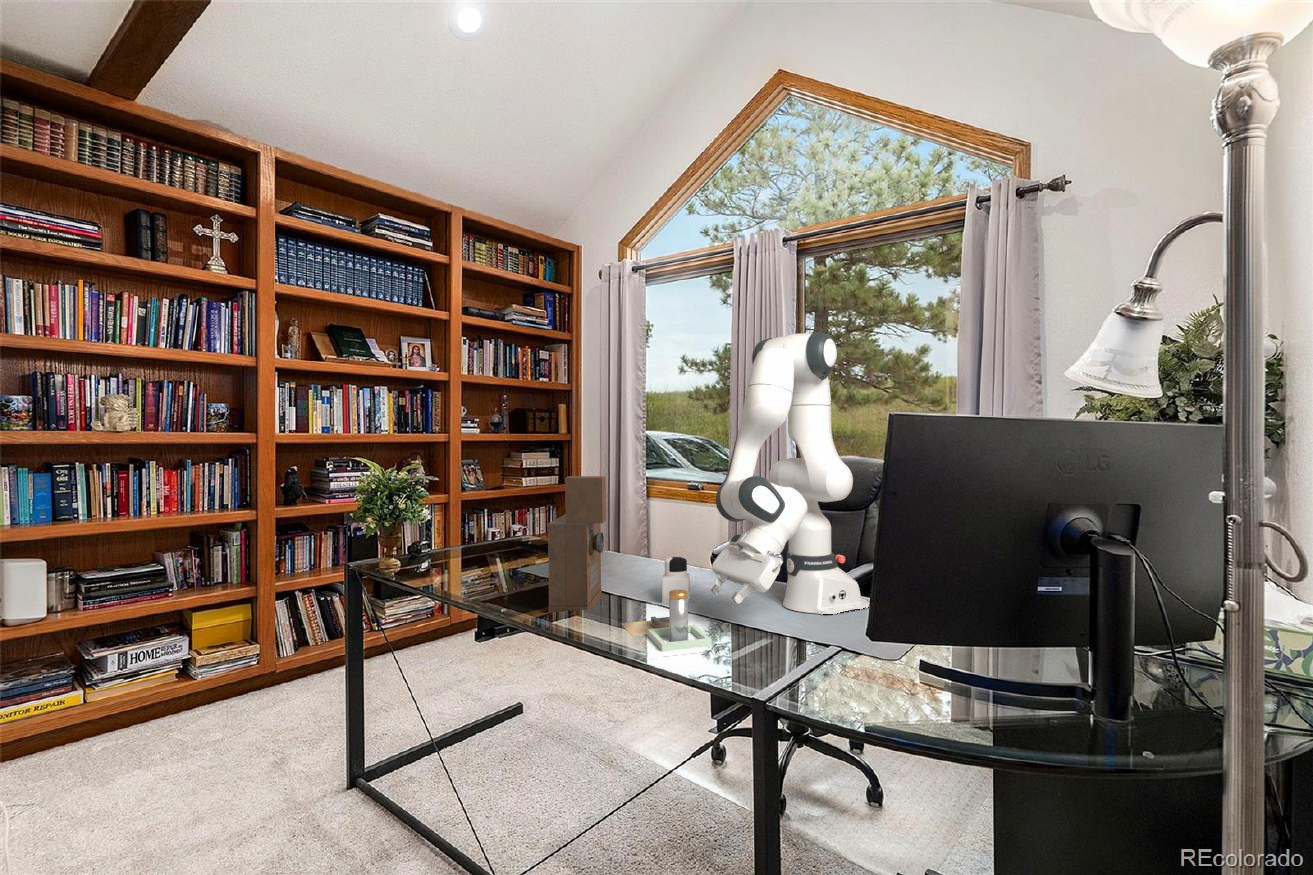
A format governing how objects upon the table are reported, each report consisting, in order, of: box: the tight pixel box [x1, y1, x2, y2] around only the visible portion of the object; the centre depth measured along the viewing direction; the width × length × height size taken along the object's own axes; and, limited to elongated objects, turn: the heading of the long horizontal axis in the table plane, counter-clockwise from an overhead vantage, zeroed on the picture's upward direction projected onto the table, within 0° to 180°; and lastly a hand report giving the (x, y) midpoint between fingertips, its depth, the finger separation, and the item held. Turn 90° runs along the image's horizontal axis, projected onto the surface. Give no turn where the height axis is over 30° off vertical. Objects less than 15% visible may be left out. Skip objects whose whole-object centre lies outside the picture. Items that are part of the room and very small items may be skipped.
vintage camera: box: [547, 475, 607, 614], centre depth 178 cm, size 19×14×35 cm
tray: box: [647, 624, 713, 658], centre depth 143 cm, size 11×11×3 cm
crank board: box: [620, 616, 670, 637], centre depth 154 cm, size 13×10×3 cm
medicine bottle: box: [661, 556, 691, 604], centre depth 180 cm, size 7×7×12 cm
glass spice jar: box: [668, 590, 689, 642], centre depth 143 cm, size 4×4×11 cm
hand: (723, 597), depth 148 cm, fingers open, 8 cm apart
